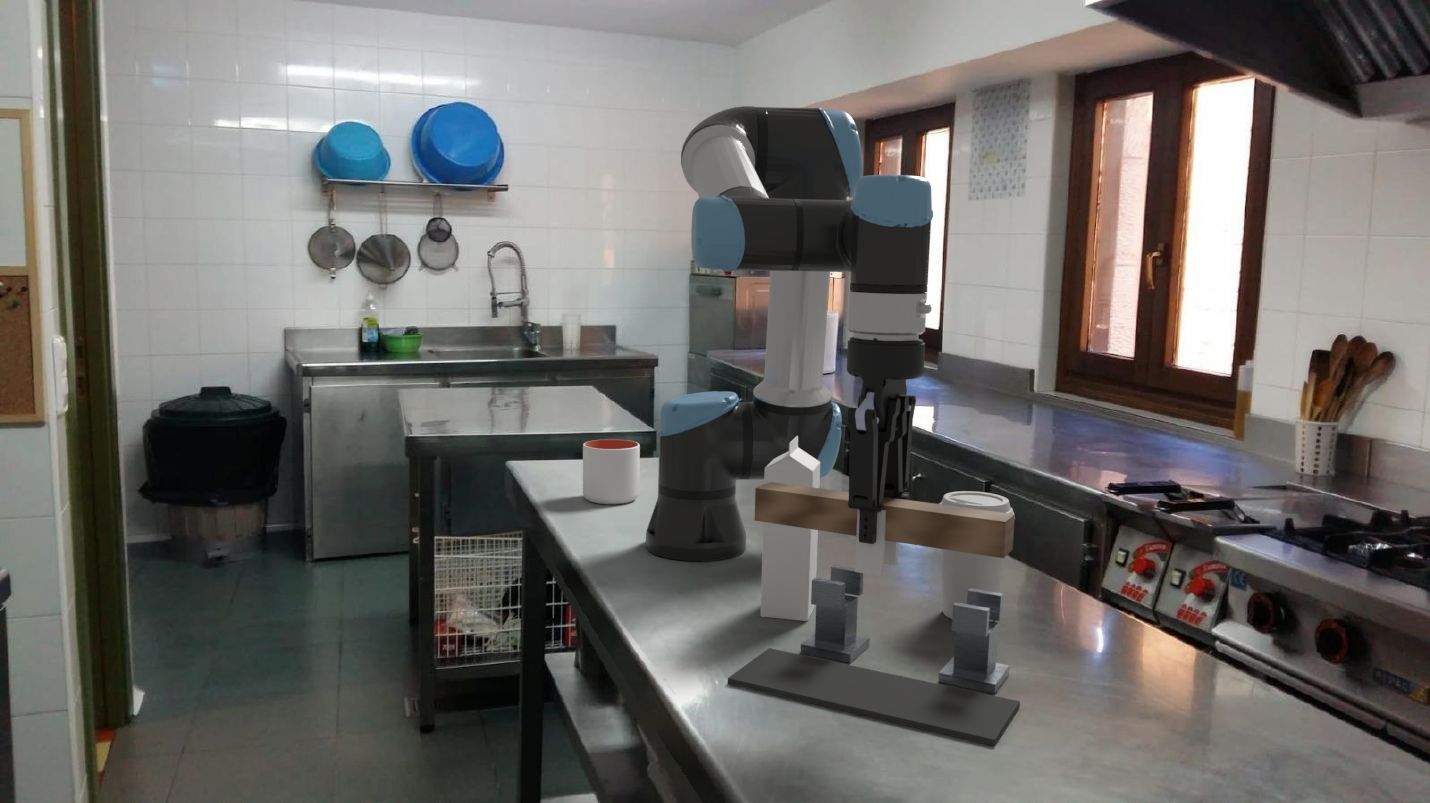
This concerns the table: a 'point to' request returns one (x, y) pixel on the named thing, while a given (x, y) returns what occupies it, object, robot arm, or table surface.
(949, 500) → the coffee cup
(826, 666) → the mat
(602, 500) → the cup
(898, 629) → the table surface
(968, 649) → the post
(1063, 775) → the table surface
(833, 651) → the post
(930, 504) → the rail
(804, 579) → the milk
